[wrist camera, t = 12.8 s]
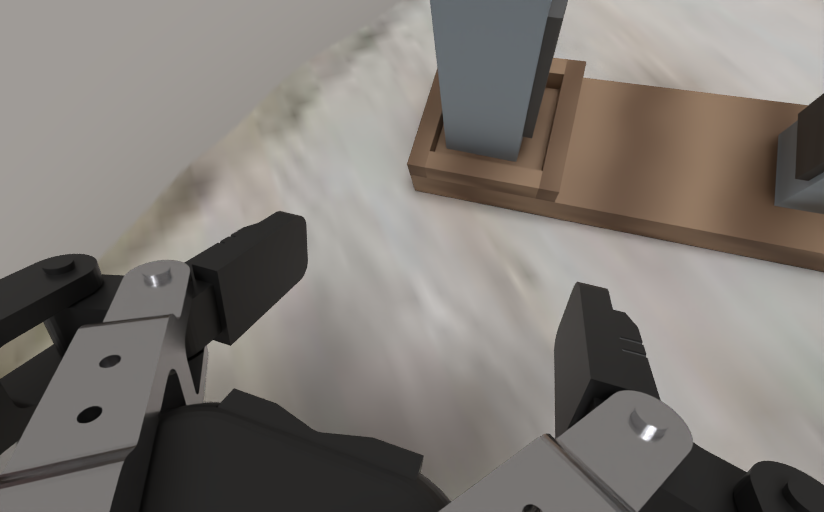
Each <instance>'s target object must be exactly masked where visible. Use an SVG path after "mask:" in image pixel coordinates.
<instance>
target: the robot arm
mask: <svg viewBox="0 0 824 512" xmlns="http://www.w3.org/2000/svg"><path fill="white" fill-rule="evenodd" d="M307 264H308V254H307V230H306V221H305V219H304V217H302V216H299V215H295V214H290V213H286V212H282V211H278V212H276V213H274V214H272V215H271V216H269V217H267V218H266V219H264V220H263V221H261V222H259V223H256V224H253V225H250V226H247V227H243V228H242V229H240V230H238V231H237V232H235V233H233V234H232V235H231V237H227V238H225V239H223V240H222V241H220V243H217V244H215V245H213V246H212V247H210V248H208V249H207V250H205V251H203V252H202V253H200V254H198V255H197V256H195V257H193V258H192V259H190V260H188V261H187V262H185V263H183V262H180V261H175V260H160V261H153V262H149V263H145V264H143V265H140V266H138V267H135V268H134V269H132V270H130V271H129V272H128V273H127V274H126V275H125V276H121V275H103V274H101V271H100V269H99V266H98V263H97V260H96V259H95V258H94V257H92V256H89V255H85V254H67V255H60V256H55V257H51V258H48V259H45V260H42V261H39V262H37V263H35V264H33V265H30V266H28V267H26V268H24V269H22V270H19V271H17V272H15V273H13V274H11V275H9V276H6V277H5V278H2V279H0V348H1V347H2V346H3V345H5V344H6V343H8V342H9V341H11V340H13V339H15V338H16V337H18V336H20V335H21V334H23V333H25V332H27V331H28V330H30V329H32V328H33V327H35V326H37V325H38V324H40V323H42V322H44V324H45V327H46V329H47V331H48V333H49V335H50V337H51V339H52V341H53V343H54V344H53V345H52V346H50V347H49V348H47V349H46V350H44V351H43V352H41V353H40V354H38V355H36V356H35V357H33V358H32V359H30V360H29V361H27V362H26V363H24V364H23V365H21V366H19V367H18V368H16V369H15V370H13V371H12V372H10V373H9V374H7V375H6V376H4V377H3V378H1V379H0V455H1V454H2V453H3V452H5V451H6V450H7V449H8V448H10V447H11V446H12V445H14V444H15V443H16V442H17V441H19V442H18V444H17V446H16V448H15V450H14V452H13V454H12V456H11V457H10V459H9V461H8V463H7V465H6V467H5V469H4V470H3V472H2V473H1V474H0V512H824V485H823V484H821V483H820V482H818V481H817V480H815V479H814V478H812V477H811V476H809V475H807V474H806V473H804V472H802V471H800V470H798V469H796V468H793V467H791V466H788V465H786V464H782V463H779V462H774V461H762V462H758V463H756V464H755V465H754V466H753V467H752V468H751V469H750V470H749V471H748V472H745V471H743V470H742V469H740V468H738V467H736V466H734V465H732V464H730V463H728V462H727V461H725V460H723V459H721V458H719V457H717V456H715V455H713V454H711V453H710V452H708V451H706V450H704V449H703V448H701V447H699V446H698V445H696V444H695V443H693V438H692V435H691V432H690V430H689V428H688V426H687V425H686V423H685V422H684V420H683V419H682V418H681V417H680V416H679V415H678V414H677V413H676V412H675V411H674V410H673V409H672V408H670V407H669V406H668V405H666V404H665V403H663V402H662V401H661V400H660V397H659V394H658V391H657V387H656V384H655V381H654V378H653V374H652V371H651V368H650V365H649V362H648V358H646V352H645V349H644V345H642V339H641V336H640V333H639V329H638V327H637V326H636V325H635V323H634V322H633V321H632V320H631V319H630V318H629V316H628V315H627V314H626V313H625V312H621V311H617V310H613V308H612V304H611V300H610V296H609V291H608V289H606V288H602V287H597V286H593V285H589V284H585V283H580V282H577V283H576V284H575V286H574V288H573V290H572V293H571V295H570V298H569V301H568V303H567V306H566V309H565V311H564V314H563V317H562V319H561V322H560V325H559V328H558V331H557V335H556V339H555V346H554V370H555V439H554V438H553V437H552V436H551V435H550V434H544V435H542V436H540V437H538V438H537V439H535V440H534V441H533V442H531V443H530V444H529V445H527V446H526V447H525V448H523V449H522V450H521V451H519V452H518V453H517V454H515V455H514V456H512V457H511V458H510V459H508V460H507V461H506V462H504V463H503V464H502V465H500V466H499V467H498V468H496V469H495V470H494V471H492V472H491V473H490V474H488V475H487V476H486V477H484V478H483V479H482V480H480V481H479V482H478V483H476V484H475V485H474V486H472V487H471V488H470V489H468V490H467V491H465V492H464V493H463V494H461V495H460V496H459V497H457V498H456V499H455V500H453V501H452V502H451V501H450V500H449V499H448V497H447V496H446V495H445V494H444V493H443V492H442V491H441V490H440V489H439V488H438V487H437V486H436V485H435V484H434V483H432V482H431V481H430V480H429V479H427V478H426V477H425V476H423V475H422V474H420V472H421V467H422V462H423V455H420V454H417V453H415V452H412V451H409V450H406V449H403V448H400V447H398V446H395V445H392V444H389V443H386V442H384V441H381V440H378V439H375V438H371V437H361V436H350V435H340V434H330V433H321V432H317V431H315V430H313V429H311V428H310V427H308V426H307V425H306V424H304V423H303V422H302V421H300V420H299V419H297V418H296V417H295V416H293V415H292V414H290V413H289V412H288V411H286V410H285V409H284V408H282V407H281V406H279V405H278V404H276V403H274V402H271V401H268V400H265V399H262V398H259V397H257V396H254V395H251V394H248V393H245V392H243V391H240V390H237V389H233V390H232V391H231V392H230V393H229V394H228V396H227V397H226V398H225V399H224V400H223V401H222V402H221V403H219V402H216V403H203V401H204V391H205V382H206V373H207V364H208V348H207V344H209V343H210V342H211V341H212V340H215V341H218V342H221V343H224V344H227V345H230V346H231V345H232V344H233V343H234V342H235V341H236V340H237V339H238V338H239V337H241V336H242V335H243V334H244V333H245V332H246V331H247V330H248V329H249V328H250V327H251V326H252V325H253V324H254V323H255V322H256V321H257V320H259V319H260V318H261V317H262V316H263V315H264V314H265V313H266V312H267V311H268V310H269V309H270V308H271V307H272V306H273V305H274V304H275V303H277V302H278V301H279V300H280V299H281V298H282V297H283V296H284V295H285V294H286V293H287V292H288V291H289V290H290V289H291V288H292V287H293V286H295V285H296V284H297V283H298V282H299V281H300V280H301V279H302V277H303V276H304V274H305V272H306V269H307Z"/></svg>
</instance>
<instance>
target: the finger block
mask: <svg viewBox="0 0 824 512" xmlns="http://www.w3.org/2000/svg"><path fill="white" fill-rule="evenodd" d="M567 2H568V0H430V5H431V14H432V23H433V32H434V41H435V50H436V59H437V68H438V77H439V86H440V95H441V104H442V113H443V122H444V131H445V140H446V148H447V149H452V150H457V151H462V152H468V153H473V154H478V155H483V156H488V157H493V158H498V159H503V160H508V161H514V162H516V161H517V157H518V154H519V150H520V146H521V143H522V139H523V137H527V138H532V136H533V132H534V129H535V125H536V121H537V117H538V114H539V110H540V106H541V102H542V98H543V95H544V91H545V87H546V83H547V79H548V76H549V72H550V68H551V64H552V60H553V56H554V52H555V48H556V45H557V41H558V37H559V33H560V29H561V25H562V21H563V18H564V14H565V10H566V6H567Z"/></svg>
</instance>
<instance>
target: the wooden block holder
mask: <svg viewBox="0 0 824 512" xmlns="http://www.w3.org/2000/svg"><path fill="white" fill-rule="evenodd" d="M585 66H586V62H585V61H577V60H568V59H559V58H553V60H552V64H551V68H550V72H549V76H548V79H547V83H546V87H545V91H544V95H543V98H542V102H541V106H540V110H539V114H538V117H537V121H536V125H535V129H534V132H533V136H532V138H527V137H523V139H522V143H521V146H520V150H519V154H518V157H517V161H516V162H514V161H508V160H503V159H498V158H493V157H488V156H483V155H478V154H473V153H468V152H462V151H457V150H452V149H447V148H446V140H445V131H444V122H443V113H442V104H441V95H440V86H439V77H438V68H437V71H436V74H435V77H434V81H433V84H432V87H431V90H430V93H429V96H428V100H427V103H426V106H425V109H424V112H423V115H422V118H421V122H420V125H419V128H418V131H417V134H416V137H415V141H414V144H413V147H412V150H411V153H410V156H409V159H408V163H407V165H408V169H409V172H410V175H411V178H412V182H413V185H414V188H415V190H416V191H421V192H426V193H431V194H436V195H441V196H446V197H451V198H457V199H462V200H467V201H472V202H477V203H482V204H487V205H492V206H497V207H502V208H507V209H512V210H517V211H522V212H527V213H532V214H537V215H542V216H547V217H552V218H557V219H562V220H567V221H572V222H577V223H582V224H587V225H592V226H597V227H602V228H607V229H612V230H617V231H622V232H627V233H632V234H637V235H642V236H647V237H652V238H657V239H662V240H667V241H672V242H677V243H682V244H687V245H692V246H697V247H702V248H707V249H712V250H717V251H722V252H727V253H732V254H737V255H742V256H747V257H752V258H757V259H762V260H767V261H772V262H777V263H782V264H787V265H792V266H797V267H802V268H807V269H812V270H817V271H822V272H824V94H822V95H821V96H820V97H819V98H817V99H816V100H815V101H813V102H812V103H811V104H810V105H800V104H792V103H784V102H776V101H768V100H760V99H752V98H744V97H736V96H727V95H719V94H711V93H703V92H695V91H687V90H679V89H671V88H663V87H654V86H646V85H638V84H630V83H622V82H614V81H606V80H598V79H590V78H583V76H584V71H585Z"/></svg>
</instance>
